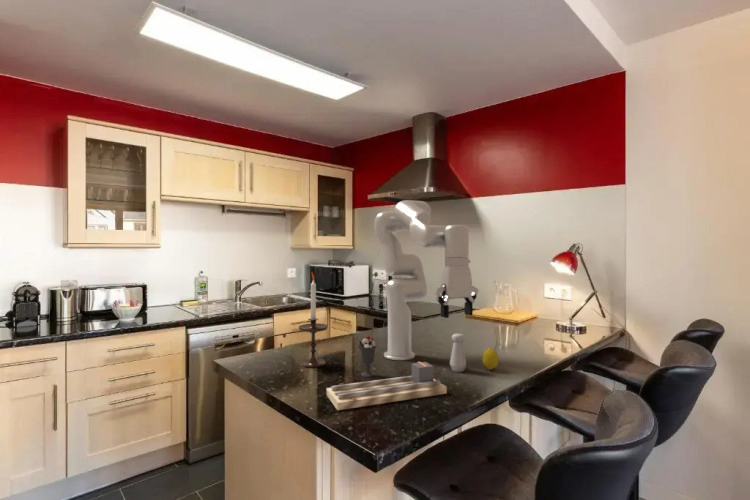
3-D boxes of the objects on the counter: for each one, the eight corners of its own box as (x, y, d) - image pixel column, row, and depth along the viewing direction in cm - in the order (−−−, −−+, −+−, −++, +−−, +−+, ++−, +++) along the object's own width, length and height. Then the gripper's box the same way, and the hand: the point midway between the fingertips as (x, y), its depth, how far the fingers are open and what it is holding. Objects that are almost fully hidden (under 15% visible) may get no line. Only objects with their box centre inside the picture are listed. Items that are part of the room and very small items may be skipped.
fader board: (337, 410, 103) (337, 398, 103) (326, 394, 114) (326, 384, 115) (446, 393, 116) (446, 382, 116) (427, 380, 127) (427, 371, 127)
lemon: (499, 372, 135) (499, 350, 135) (482, 371, 136) (482, 349, 137) (497, 368, 141) (497, 346, 141) (481, 367, 142) (481, 345, 142)
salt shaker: (448, 367, 141) (448, 332, 141) (463, 367, 142) (463, 332, 142) (452, 373, 135) (452, 336, 135) (468, 372, 136) (468, 335, 136)
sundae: (380, 372, 135) (380, 330, 135) (373, 378, 129) (373, 334, 129) (362, 370, 137) (362, 328, 137) (355, 376, 131) (355, 332, 131)
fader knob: (419, 384, 116) (419, 366, 116) (411, 379, 121) (411, 362, 121) (433, 382, 118) (433, 365, 118) (425, 377, 123) (425, 360, 123)
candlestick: (293, 363, 146) (293, 271, 146) (317, 358, 153) (317, 270, 153) (308, 370, 138) (308, 272, 138) (333, 364, 145) (333, 271, 145)
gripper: (469, 262, 132) (469, 312, 131) (427, 263, 124) (428, 316, 123) (485, 262, 125) (485, 315, 125) (442, 263, 117) (442, 320, 117)
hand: (456, 316), depth 124 cm, fingers open, 9 cm apart
